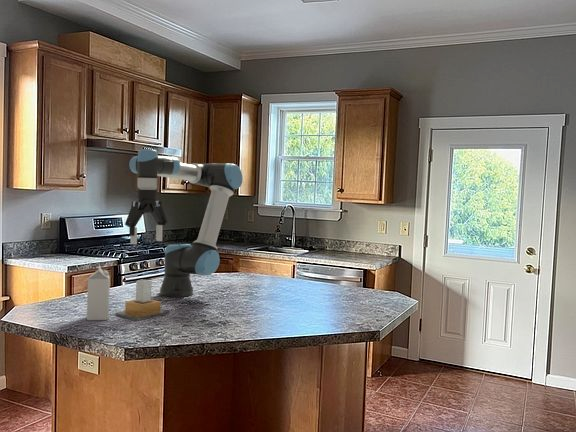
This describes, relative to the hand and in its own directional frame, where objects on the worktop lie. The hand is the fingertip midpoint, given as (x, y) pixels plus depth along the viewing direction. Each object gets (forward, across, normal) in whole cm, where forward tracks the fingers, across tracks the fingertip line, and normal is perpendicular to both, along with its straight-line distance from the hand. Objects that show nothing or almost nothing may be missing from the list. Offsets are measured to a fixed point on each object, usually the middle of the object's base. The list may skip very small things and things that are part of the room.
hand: (146, 242), depth 207 cm
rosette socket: (+27, +7, +6) cm, 28 cm away
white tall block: (+26, +7, +6) cm, 27 cm away
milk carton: (+26, +22, -2) cm, 34 cm away
